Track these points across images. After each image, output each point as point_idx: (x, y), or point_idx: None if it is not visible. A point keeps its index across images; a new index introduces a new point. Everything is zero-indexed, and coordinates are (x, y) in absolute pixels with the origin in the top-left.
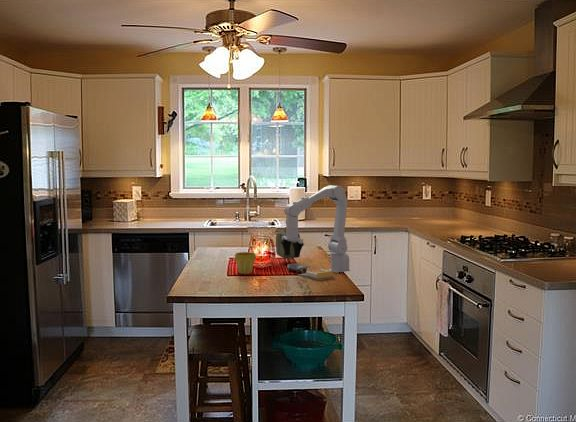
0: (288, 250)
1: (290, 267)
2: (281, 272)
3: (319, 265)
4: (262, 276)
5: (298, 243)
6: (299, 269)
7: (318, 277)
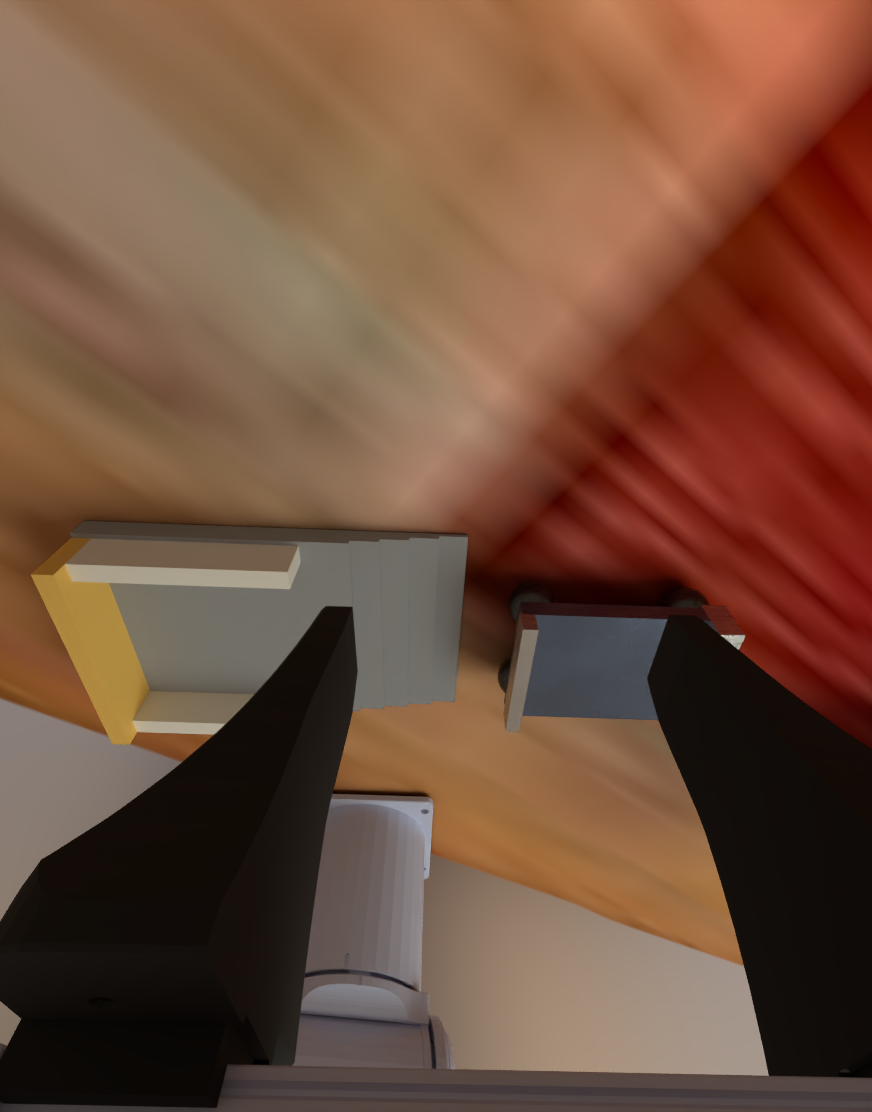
0: (697, 749)
1: (669, 614)
2: (720, 487)
3: (625, 855)
4: (808, 9)
5: (30, 1023)
6: (516, 626)
7: (66, 546)
